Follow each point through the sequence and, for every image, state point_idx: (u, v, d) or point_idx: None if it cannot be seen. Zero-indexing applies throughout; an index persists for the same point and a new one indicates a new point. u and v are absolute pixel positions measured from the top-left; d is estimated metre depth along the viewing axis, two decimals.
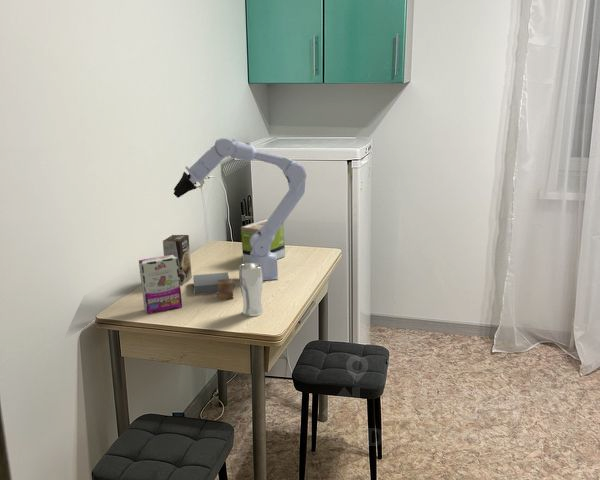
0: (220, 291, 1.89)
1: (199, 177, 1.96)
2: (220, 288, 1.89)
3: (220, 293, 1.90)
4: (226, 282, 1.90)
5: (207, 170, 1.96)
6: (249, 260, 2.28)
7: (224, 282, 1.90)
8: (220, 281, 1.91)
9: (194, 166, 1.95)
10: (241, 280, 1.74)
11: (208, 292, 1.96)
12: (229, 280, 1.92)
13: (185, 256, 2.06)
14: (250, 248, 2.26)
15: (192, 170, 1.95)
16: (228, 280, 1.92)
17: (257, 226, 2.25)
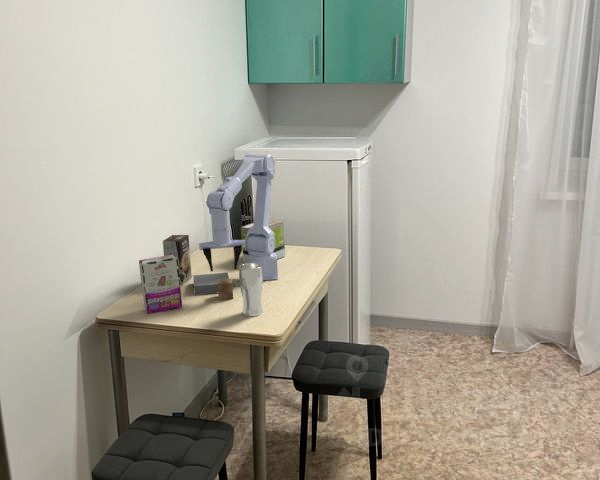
0: (220, 291, 1.89)
1: None
2: (220, 288, 1.89)
3: (220, 293, 1.90)
4: (226, 282, 1.90)
5: None
6: (249, 260, 2.28)
7: (224, 282, 1.90)
8: (220, 281, 1.91)
9: (227, 237, 1.85)
10: (241, 280, 1.74)
11: (208, 292, 1.96)
12: (229, 280, 1.92)
13: (185, 256, 2.06)
14: None
15: (228, 241, 1.86)
16: (228, 280, 1.92)
17: None
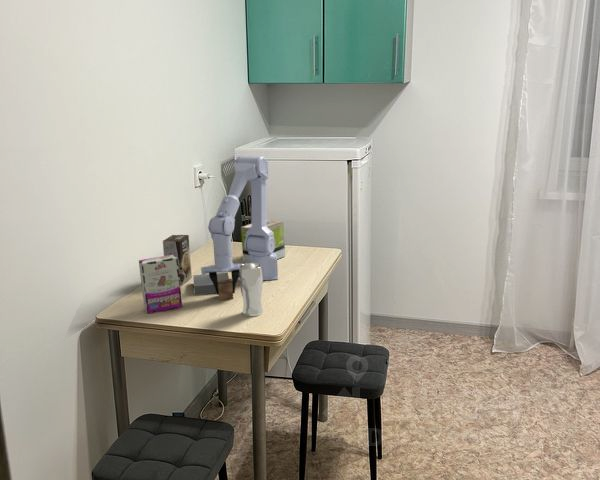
0: (220, 291, 1.89)
1: None
2: (220, 288, 1.89)
3: (220, 293, 1.90)
4: (226, 282, 1.90)
5: None
6: (249, 260, 2.28)
7: (223, 282, 1.90)
8: (220, 281, 1.91)
9: (229, 262, 1.88)
10: (241, 280, 1.74)
11: (208, 292, 1.96)
12: (229, 280, 1.92)
13: (185, 256, 2.06)
14: None
15: (230, 265, 1.88)
16: (228, 280, 1.92)
17: None
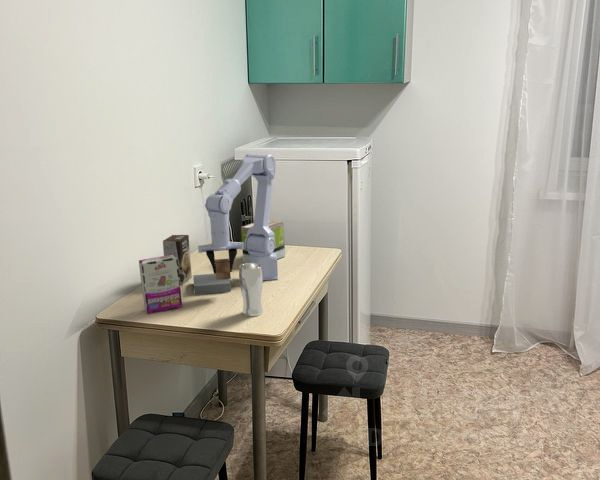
0: (217, 270, 1.89)
1: None
2: (217, 267, 1.88)
3: (217, 272, 1.89)
4: (223, 261, 1.90)
5: None
6: (249, 260, 2.28)
7: (221, 261, 1.90)
8: (217, 260, 1.91)
9: (226, 240, 1.87)
10: (241, 280, 1.74)
11: (208, 292, 1.96)
12: (226, 259, 1.91)
13: (185, 256, 2.06)
14: None
15: (227, 244, 1.88)
16: (225, 259, 1.91)
17: None
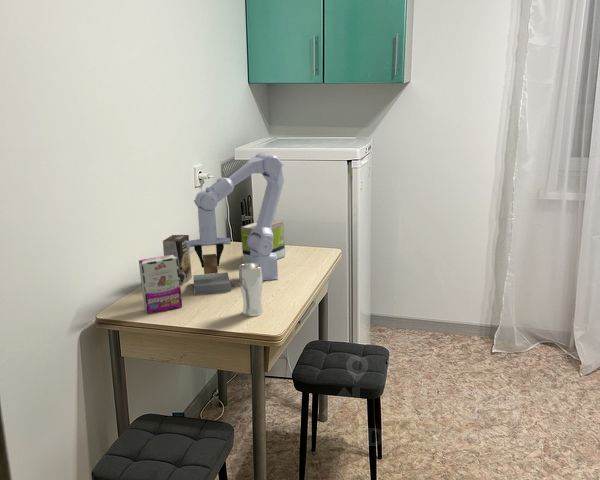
0: (205, 265, 1.97)
1: None
2: (205, 262, 1.97)
3: (205, 267, 1.97)
4: (210, 257, 1.98)
5: None
6: (249, 260, 2.28)
7: (208, 256, 1.98)
8: (205, 256, 1.99)
9: (213, 235, 1.96)
10: (241, 280, 1.74)
11: (208, 292, 1.96)
12: (214, 255, 2.00)
13: (185, 256, 2.06)
14: None
15: (214, 239, 1.97)
16: (213, 255, 2.00)
17: None
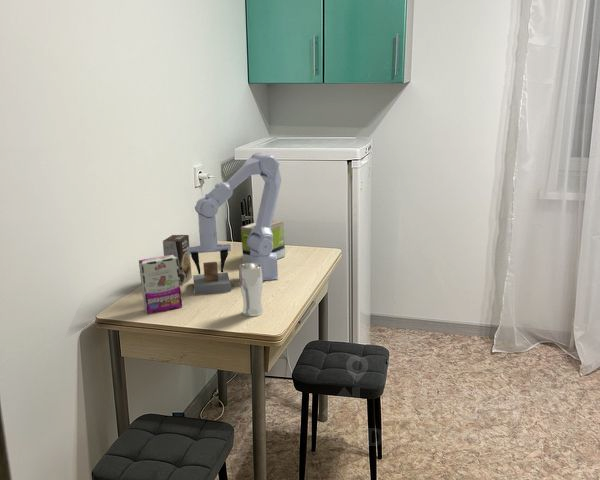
0: (206, 273, 1.98)
1: None
2: (205, 270, 1.98)
3: (206, 275, 1.98)
4: (211, 264, 1.99)
5: None
6: (249, 260, 2.28)
7: (209, 264, 1.99)
8: (206, 264, 2.00)
9: (213, 242, 1.96)
10: (241, 280, 1.74)
11: (208, 292, 1.96)
12: (214, 263, 2.01)
13: (185, 256, 2.06)
14: None
15: (215, 246, 1.97)
16: (213, 263, 2.01)
17: None
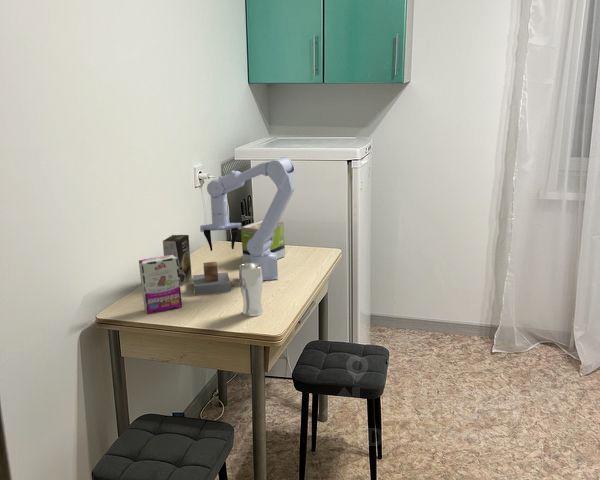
0: (206, 273, 1.98)
1: None
2: (205, 270, 1.98)
3: (206, 275, 1.98)
4: (211, 264, 1.99)
5: None
6: (249, 260, 2.28)
7: (209, 264, 1.99)
8: (206, 264, 2.00)
9: (224, 220, 2.09)
10: (241, 280, 1.74)
11: (208, 292, 1.96)
12: (214, 263, 2.01)
13: (185, 256, 2.06)
14: None
15: (226, 224, 2.10)
16: (213, 263, 2.01)
17: (257, 226, 2.25)
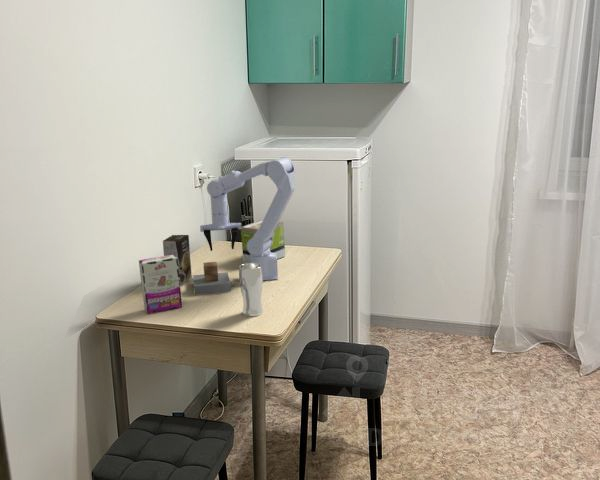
0: (206, 273, 1.98)
1: None
2: (205, 270, 1.98)
3: (206, 275, 1.98)
4: (211, 264, 1.99)
5: None
6: (249, 260, 2.28)
7: (209, 264, 1.99)
8: (206, 264, 2.00)
9: (224, 220, 2.09)
10: (241, 280, 1.74)
11: (208, 292, 1.96)
12: (214, 263, 2.01)
13: (185, 256, 2.06)
14: None
15: (226, 224, 2.10)
16: (213, 263, 2.01)
17: (257, 226, 2.25)
